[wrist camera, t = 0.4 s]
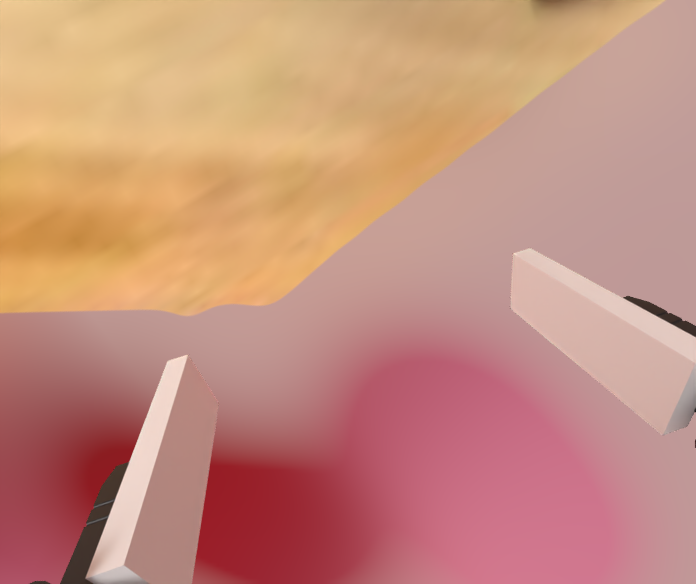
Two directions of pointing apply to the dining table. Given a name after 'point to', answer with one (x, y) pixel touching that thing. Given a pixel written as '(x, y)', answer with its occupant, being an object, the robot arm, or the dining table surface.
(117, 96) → the dining table surface
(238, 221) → the dining table surface
